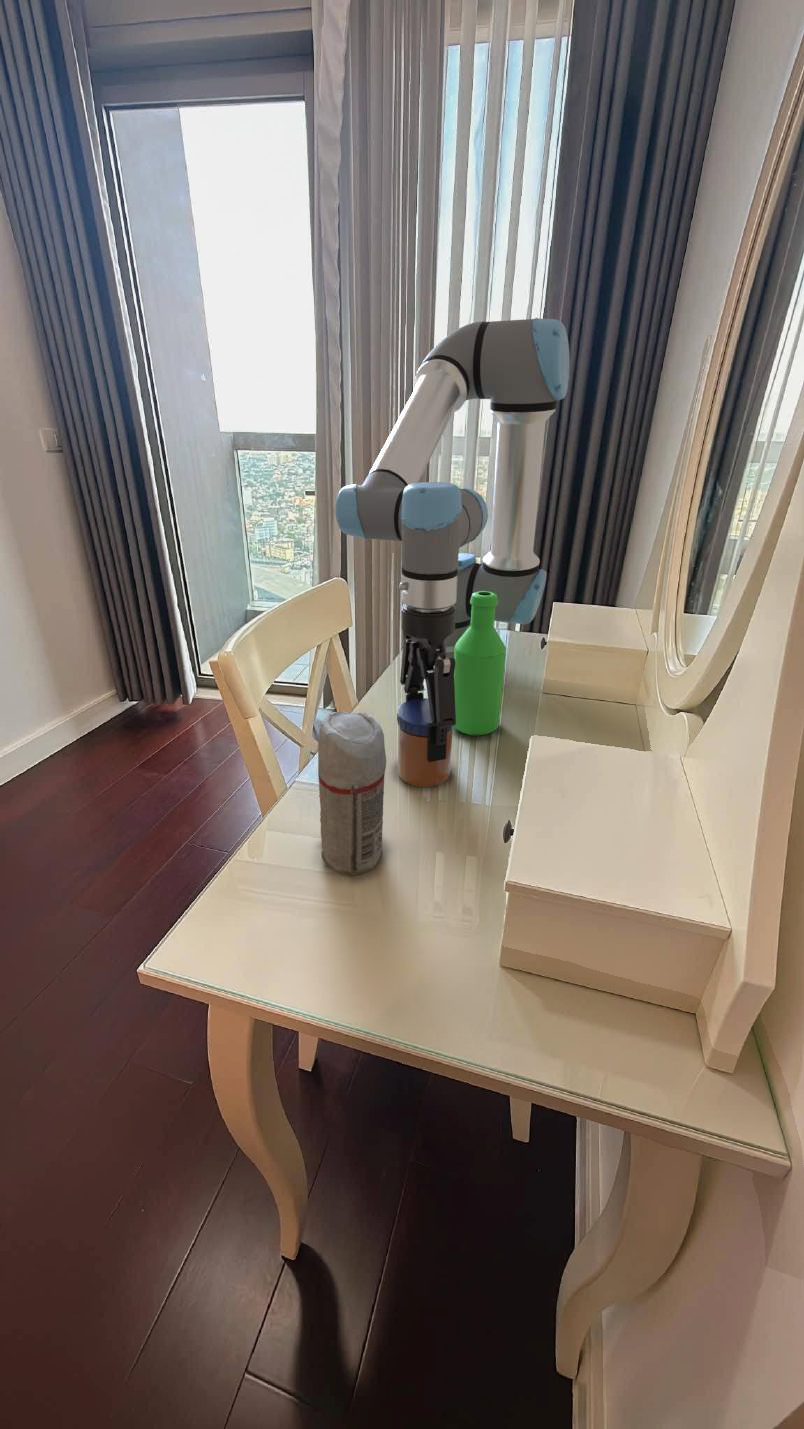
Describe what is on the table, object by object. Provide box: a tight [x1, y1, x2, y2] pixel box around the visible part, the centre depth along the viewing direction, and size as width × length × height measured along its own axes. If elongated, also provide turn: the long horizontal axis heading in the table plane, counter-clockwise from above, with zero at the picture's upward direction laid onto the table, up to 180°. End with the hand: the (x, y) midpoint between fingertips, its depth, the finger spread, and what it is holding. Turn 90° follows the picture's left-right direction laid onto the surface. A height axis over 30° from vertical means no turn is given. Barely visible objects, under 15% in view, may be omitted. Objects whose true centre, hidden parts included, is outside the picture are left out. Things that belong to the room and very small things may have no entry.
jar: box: [397, 724, 454, 788], centre depth 88 cm, size 8×8×11 cm
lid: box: [396, 697, 452, 736], centre depth 86 cm, size 9×9×2 cm
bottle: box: [453, 591, 507, 737], centre depth 98 cm, size 9×9×25 cm
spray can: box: [317, 710, 387, 876], centre depth 70 cm, size 8×8×20 cm
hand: (424, 744), depth 88 cm, fingers closed on lid, 9 cm apart
